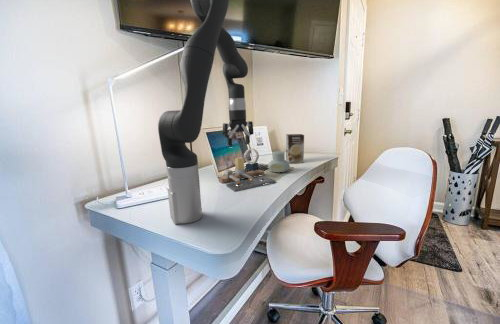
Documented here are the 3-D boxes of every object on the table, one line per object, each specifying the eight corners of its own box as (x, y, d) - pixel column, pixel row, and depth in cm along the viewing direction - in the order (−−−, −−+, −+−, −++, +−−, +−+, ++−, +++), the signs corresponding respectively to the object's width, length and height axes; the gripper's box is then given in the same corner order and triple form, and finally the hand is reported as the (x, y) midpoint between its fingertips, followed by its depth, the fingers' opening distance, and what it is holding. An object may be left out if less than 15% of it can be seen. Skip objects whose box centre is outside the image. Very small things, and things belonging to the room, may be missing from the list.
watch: (248, 167, 142) (247, 147, 139) (261, 168, 137) (260, 148, 135) (242, 169, 137) (241, 149, 134) (255, 171, 133) (255, 150, 130)
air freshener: (290, 169, 133) (290, 150, 131) (288, 174, 126) (288, 154, 123) (270, 169, 137) (269, 150, 134) (266, 173, 129) (266, 153, 127)
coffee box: (288, 163, 146) (288, 135, 142) (285, 161, 152) (285, 134, 149) (303, 163, 146) (304, 135, 143) (301, 160, 153) (301, 133, 149)
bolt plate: (234, 191, 104) (234, 188, 103) (226, 186, 111) (226, 183, 110) (275, 182, 113) (275, 180, 113) (265, 178, 120) (265, 176, 120)
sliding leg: (248, 182, 110) (247, 162, 108) (235, 175, 121) (234, 157, 120) (254, 180, 112) (254, 161, 110) (241, 174, 123) (240, 156, 121)
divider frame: (230, 189, 107) (230, 177, 106) (218, 181, 118) (218, 170, 117) (274, 180, 117) (274, 169, 116) (259, 173, 128) (259, 163, 127)
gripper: (225, 110, 107) (228, 148, 111) (255, 108, 114) (256, 144, 117) (219, 109, 113) (221, 146, 117) (247, 108, 120) (248, 142, 124)
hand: (239, 145), depth 117 cm, fingers open, 8 cm apart
